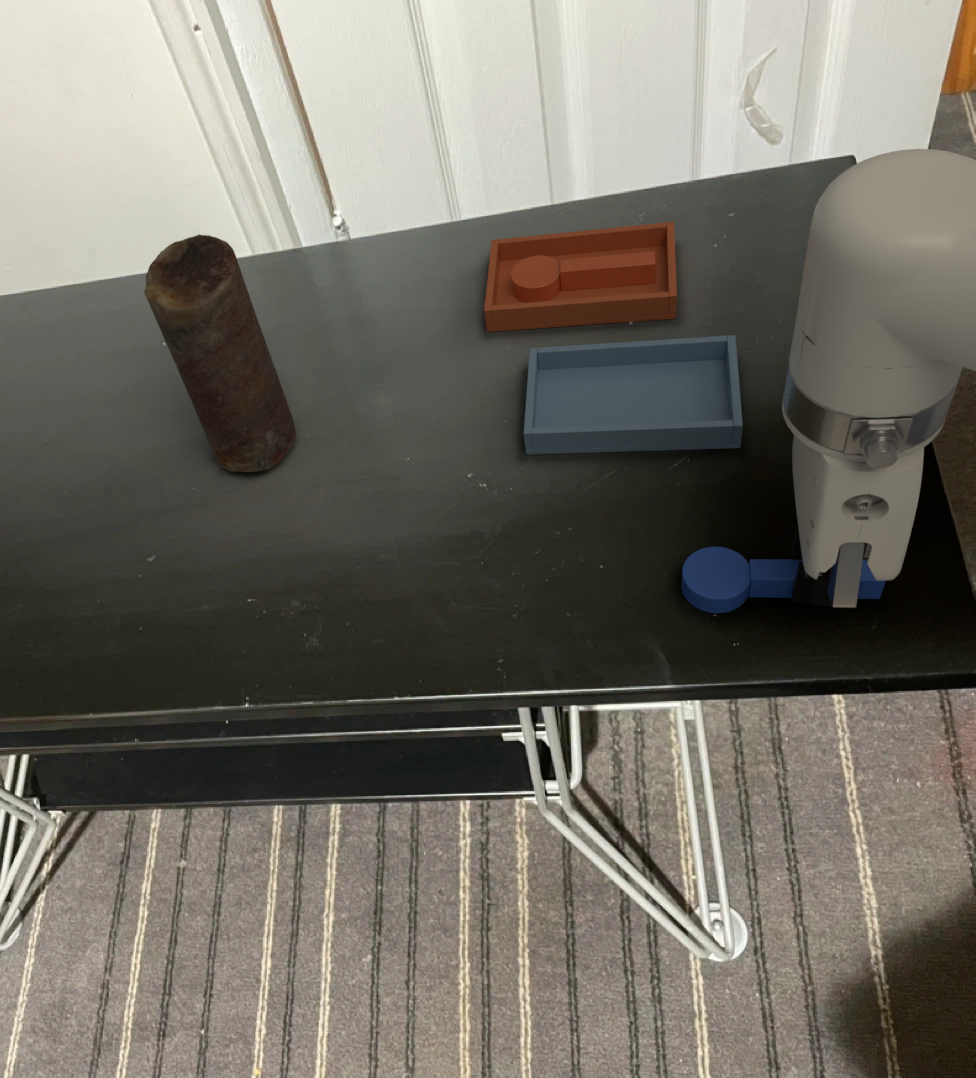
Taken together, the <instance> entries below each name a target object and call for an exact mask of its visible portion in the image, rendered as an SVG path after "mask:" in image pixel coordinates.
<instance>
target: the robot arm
mask: <svg viewBox="0 0 976 1078" xmlns="http://www.w3.org/2000/svg"><path fill="white" fill-rule="evenodd" d="M809 227H810V228H809V234H808V239H807V240H808V241H807V246H806V253H805V258H804V264H803V265H804V266H803V270H802V277H801V284H800V290H799V297H798V303H797V310H796V317H795V323H794V328H793V335H792V341H791V345H790V352H789V358H788V364H787V365H788V366H787V371H786V378H785V382H784V383H785V384H784V388H783V389H784V390H783V394H782V401H781V412H782V417H783V419H784V422H785V424H786V426H787V428H788V429H789V430H790V431H791V433H792V434H793V439H792V447H791V448H792V450H791V467H792V479H793V491H794V503H795V511H796V519H797V526H798V527H797V528H798V530H795V532H794V536H793V540H792V541H793V543H792V547H791V550H790V551H791V552H790V557H789V559H795V560H803V561H801V562H799V564H798V569H797V573H796V578H795V583H794V587H793V592H792V596H793V598H792V602H793V603H796V604H811V605H813V606H814V607H830V608H832V609H856V608H857V605H858V600H859V599H858V592H859V584H860V577H861V570H862V563H863V560H864V559H866V560H867V564H868V566H869V568H870V570H871V572H872V574H873V575H874V577H875V579H876V580H877V581H884V580H886V581H893V580H894V579H896V577H898V576H899V575H900V572H901V571H902V568H903V564H904V560H905V558H906V554H907V550H908V547H909V546H908V545H909V542H910V538H911V534H912V529H913V526H914V521H915V518H916V514H917V513H916V512H917V508H918V503H919V498H920V493H921V486H922V479H923V470H924V459H925V458H924V457H925V447H926V446H928V445H930V443H931V442H932V441H934V440H935V439H936V437H937V436H938V435H939V433H940V432H941V430H942V429H943V427H944V425H945V422H946V418H947V416H948V413H949V410H950V407H951V404H952V402H953V398H954V395H955V393H956V389H957V386H958V384H959V381H960V376H961V374H962V371H963V368H965V369H967V370H970V371H974V372H976V159H975V158H972V157H969V156H967V155H963V154H960V153H957V152H952V151H948V150H941V149H934V148H911V149H900V150H894V151H889V152H886V153H881V154H877V155H874V156H871V157H869V158H866V159H863V160H861V161H859V162H857V163H855V164H853V165H851V166H850V167H849V168H847V169H845V170H843V172H841V173H840V174H839V175H838V176H837V177H836V178H834V180H832V181H831V182H830V183H829V184H828V186H827V187H826V189H825V190H824V191H823V192H822V194H821V196H820V197H819V199H818V201H817V204H816V205H815V207H814V211H813V215H812V218H811V223H810V226H809Z"/></svg>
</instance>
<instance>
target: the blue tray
mask: <svg viewBox="0 0 976 1078" xmlns="http://www.w3.org/2000/svg"><path fill="white" fill-rule="evenodd" d="M528 350H529V352H528V353H529V354H528V365H527V379H526V392H525V394H526V395H525V404H524V405H525V407H524V408H525V409H524V418H523V419H524V420H523V439H524V448H525V449H524V450H525V455H528V456H529V455H554V454H555V455H556V454H558V455H559V454H589V453H590V454H591V453H621V452H626V453H627V452H657V451H658V452H659V451H688V450H689V451H690V450H719V449H720V450H721V449H722V450H723V449H726V450H727V449H741V445H742V444H741V443H742V435H743V427H744V424H743V411H742V410H743V409H742V398H741V388H740V387H741V386H740V377H739V376H740V375H739V362H738V351H737V350H738V349H737V338H736V334H728V335H715V336H714V335H713V336H698V337H697V336H696V337H695V336H694V337H683V338H681V337H680V338H665V339H664V338H663V339H651V340H634V341H618V342H604V343H603V342H602V343H589V344H572V345H558V346H557V345H556V346H541V347H529V349H528Z"/></svg>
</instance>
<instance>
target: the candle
mask: <svg viewBox="0 0 976 1078" xmlns="http://www.w3.org/2000/svg"><path fill="white" fill-rule="evenodd" d="M143 293H144V296H145V298H146V300H147V302H148V304H149V307H150V309H151V311H152V314H153V316H154V318H155V321H156V323H157V325H158V327H159V330H160V333H161V335H162V336H163V337H162V338H163V339H164V342H165V343H166V347H167V348H168V351H169V353H170V356H171V357H172V360H173V362H174V364H175V366H176V368H177V371H178V373H179V375H180V378H181V381H182V383H183V385H184V388H185V389H186V392H187V394H188V396H189V398H190V401H191V404H192V406H193V408H194V410H195V413H196V416H197V417H198V420H199V422H200V425H201V427H202V430H203V432H204V434H205V437H206V440H207V441H208V444H209V446H210V448H211V450H212V453H213V455H214V457H215V460H216V462H217V463H218V464H219V466H220V467H221V468H222V469H224V470H227V471H228V472H232V473H237V472H238V473H239V472H242V473H256V472H257V473H258V472H262V471H267V470H270V469H273V467H274V466H276V465H278V464H279V463H280V462H281V461H282V460H283V459H284V457H285V456H286V455H287V453H289V451H290V450H291V448H292V446H293V444H294V443H295V440H296V438H297V429H296V425H295V421H294V419H293V415H292V413H291V410H290V406H289V404H288V400H287V398H286V395H285V392H284V390H283V389H284V388H283V387H282V386H283V385H282V383H281V381H280V378H279V375H278V372H277V370H276V367H275V365H274V362H273V359H272V356H271V353H270V350H269V347H268V345H267V342H266V339H265V336H264V333H263V331H262V328H261V325H260V323H259V322H260V321H259V319H258V317H257V313H256V311H255V307H254V305H253V302H252V299H251V296H250V293H249V290H248V287H247V284H246V282H245V279H244V276H243V273H242V269H241V267H240V264H239V261H238V258H237V255H236V253H235V250H234V248H233V247H232V246H231V245H230V244H229V242H227V241H225V240H223V239H221V238H218V237H217V236H211V235H209V234H208V235H206V234H200V233H199V234H197V235H193V236H190V237H187V238H184V239H182V240H178V241H177V240H176V241H174V242H172V243H170V244H169V245H168V246H166V247H165V248H164V249H163V250H161V251H160V252H159V254H157V256H156V257H155V259H154V260H153V261H152V262H151V263H150V265H149V266H148V269H147V271H146V273H145V289H144V290H143Z"/></svg>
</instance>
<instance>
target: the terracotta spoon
mask: <svg viewBox="0 0 976 1078" xmlns="http://www.w3.org/2000/svg"><path fill="white" fill-rule="evenodd" d="M655 268H656V259H655V251H651V252H640V253H629V254H618V255H607V256H596V257H586V258H575V259H564V260H560V263H559V262H558V261H557V260H556V259H554V258H552V257H549V256H544V255H537V256H531V257H528V258H525V259H523V260H521V261H520V262H519V263H517V264H516V265H515V266H514V268H513V269H512V272H511V279H512V288H513V294H514V296H515V297H516V298H517V299H518V300H520V301H522V302H524V303H529V302H542V301H549V300H551V299H553V298H554V297H556V296H557V295H558V294H559V292H560V291H570V290H582V289H594V288H607V287H619V286H631V285H643V284H654V283H655Z"/></svg>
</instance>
